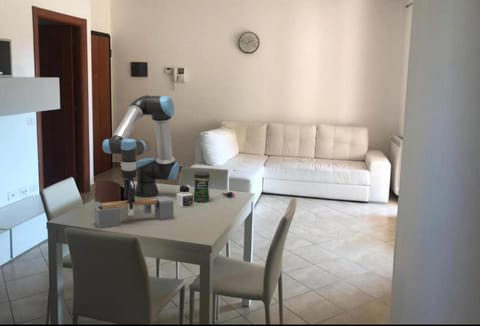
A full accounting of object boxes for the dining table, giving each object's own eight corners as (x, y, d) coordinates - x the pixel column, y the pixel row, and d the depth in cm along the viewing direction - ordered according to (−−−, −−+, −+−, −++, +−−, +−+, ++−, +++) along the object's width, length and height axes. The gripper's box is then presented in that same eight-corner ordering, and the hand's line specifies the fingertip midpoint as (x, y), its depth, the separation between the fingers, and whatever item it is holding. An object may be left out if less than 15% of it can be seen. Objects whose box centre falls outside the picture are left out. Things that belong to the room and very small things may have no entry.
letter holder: (119, 206, 267) (119, 182, 264) (94, 201, 276) (94, 178, 273) (131, 202, 275) (131, 179, 273) (107, 197, 284) (106, 175, 282)
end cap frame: (95, 223, 235) (94, 203, 234) (167, 214, 254) (167, 196, 252) (98, 228, 228) (98, 208, 226) (173, 218, 246) (173, 200, 244)
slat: (100, 207, 233) (100, 203, 232) (154, 202, 246) (154, 197, 246) (102, 209, 229) (102, 205, 229) (156, 204, 243) (156, 199, 242)
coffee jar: (192, 202, 279) (193, 172, 275) (194, 199, 286) (194, 170, 283) (208, 203, 278) (209, 173, 275) (209, 199, 286) (210, 170, 283)
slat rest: (107, 215, 249) (107, 206, 248) (148, 210, 260) (148, 201, 259) (109, 217, 245) (109, 208, 244) (151, 212, 256) (151, 204, 255)
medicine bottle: (182, 207, 267) (183, 187, 265) (176, 205, 272) (176, 185, 270) (193, 205, 272) (193, 186, 269) (186, 203, 277) (186, 183, 275)
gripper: (117, 167, 240) (118, 210, 244) (126, 173, 225) (126, 219, 229) (131, 166, 244) (132, 208, 248) (141, 172, 229) (141, 217, 233)
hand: (129, 213), depth 239 cm, fingers closed on slat, 4 cm apart
